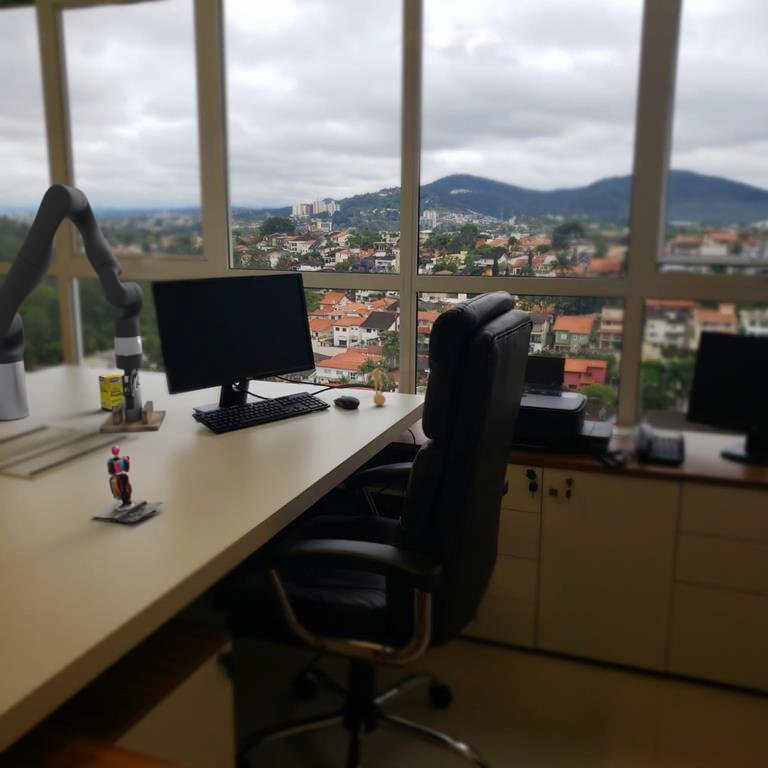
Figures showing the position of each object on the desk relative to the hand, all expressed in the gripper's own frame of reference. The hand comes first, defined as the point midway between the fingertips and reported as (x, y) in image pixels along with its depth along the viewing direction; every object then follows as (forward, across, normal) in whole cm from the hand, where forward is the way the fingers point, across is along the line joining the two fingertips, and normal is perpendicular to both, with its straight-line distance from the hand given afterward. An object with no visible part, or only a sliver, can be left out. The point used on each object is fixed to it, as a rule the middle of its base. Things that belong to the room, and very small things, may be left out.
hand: (132, 405), depth 217 cm
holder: (+5, 0, 0) cm, 5 cm away
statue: (+6, +72, +10) cm, 73 cm away
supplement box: (+6, -19, -9) cm, 22 cm away
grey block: (+4, 0, 0) cm, 4 cm away
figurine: (+5, -10, +75) cm, 76 cm away
